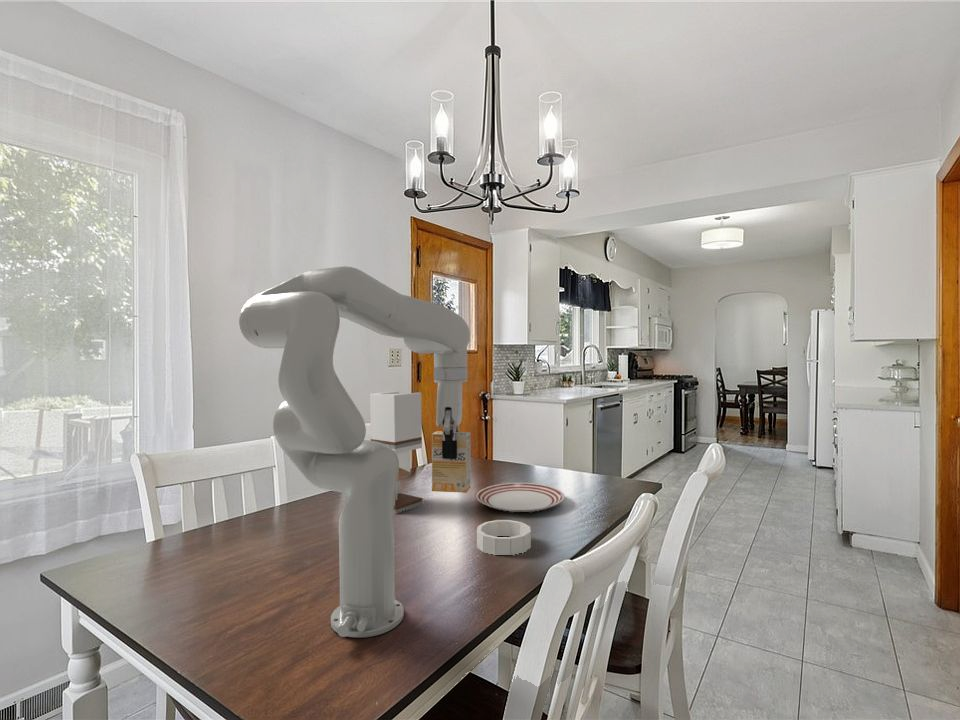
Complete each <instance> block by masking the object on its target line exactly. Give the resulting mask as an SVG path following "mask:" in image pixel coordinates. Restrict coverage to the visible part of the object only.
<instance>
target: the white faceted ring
mask: <svg viewBox="0 0 960 720" xmlns="http://www.w3.org/2000/svg"><path fill="white" fill-rule="evenodd" d="M476 527H477V528H476V548H477V549H478V550H479V551H481V552H482V553H484V554H487V553H488V555H491V554H493V555H492V556H495V555H513V556H516V555H515V554H517V555H520V554H519V553H522V554H524V552H525V553H526V552H528V551H529V550H531V549H530V548H532V538H531V537H532V536H531V535H532V534H531V533H532V530H531V526H530V525H528V524H526V523H524V522H521V521H517V520H512V519H495V520H491V521H485V522H483V523H481V524H479V525H477V526H476ZM497 536H511V537H497ZM528 549H529V550H528ZM527 550H528V551H527Z"/></svg>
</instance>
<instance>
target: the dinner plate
mask: <svg viewBox="0 0 960 720" xmlns="http://www.w3.org/2000/svg"><path fill="white" fill-rule="evenodd" d="M565 497H566V496H565V493H564V492H563V491H562V490H560V489H558V488H556V487H553V486H550V485H546V484H542V483H534V482H508V483H500V484H498V483H497V484H494V485H490V486H487V487H485V488H482V489H480V490H479V491H478V492H477V493H476V496H475V498H476V499H477V501H478V502H479V503H480V504H482V505H485V506H487V507H489V508H492V509H494V510H495V509H496V510H499V511H501V510H503V511H502V512H506V511H509V512H508V513H514V512H529V513H536V512H535V511H537V512H541V511H545V510H547V509H550V508H553V507H555V506H558V505H559V504H561V503H562V502H563V501H564V500H565ZM540 510H541V511H540Z"/></svg>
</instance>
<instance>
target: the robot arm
mask: <svg viewBox="0 0 960 720" xmlns="http://www.w3.org/2000/svg"><path fill="white" fill-rule="evenodd" d="M238 317H239V318H238V323H239V329H240V333H241V334H242V336H243V337H244V338H245V340H247V342H249V343H250V344H252V345H254V346H256V347H258V348H262V349H283V353H282V358H281V361H280V367H279V371H278V380H277V381H278V383H277V384H278V389H279V390H280V394H281V396H282V398H283V400H284V401H283V402H281V404H279V406H278V408H277V409H276V410H275V413H274V414H273V415H274V416H273V419H272V420H273V422H272V429H273V434H274V438H275V440H276V442H277V444H278V445H279V447H280V449H282V452H284V453H285V455H286V456H287V458H288V459H289V460H290V461H291V463H293V464H294V465H295V467H296V468H297V470H298V471H299V472H300V474H302V476H304V478H305V479H306V480H307V481H308V482H309V483H310V484H311V485H313V486H314V487H316V488H318V489H322V490H326V491H330V492H332V491H333V492H336V493H343V494H345V495H346V494H347V495H348V498H347V501H346V503H345V504H344V507H343V508H342V511H341V512H340V515H339V520H338V555H339V557H338V559H339V561H338V562H339V563H338V564H339V573H338V574H339V605H338V606H337V607H336V608H335V609H334V610H333V612H332V613H331V615H330V625H331V626H330V627H331V628H332V630H333V631H334V632H336V633H337V634H338V636H339V637H340V638H346V637H348V638H356V639H357V638H371V637H375V636H379V635H382V634H386V633H387V632H389V631H391V630H393V629H394V628H396V627H397V626H399V624H400V623H402V621H403V619H404V606H403V604H402V603H401V602H400V601H399V600H397V599H396V596H395V595H396V594H395V588H396V587H395V585H396V584H395V581H396V580H395V528H394V527H395V526H394V525H395V524H394V523H395V514H394V498H395V490H396V484H397V479H398V473H399V461H398V457H397V455H396V453H395V452H394V450H393V449H392V448H390V447H389V446H388V445H386V444H383V443H380V442H376V441H371V440H366V439H365V438H366V434H367V427H366V424H365V423H366V422H365V420H364V417H363V416H362V414H361V412H360V410H359V409H358V407H357V405H356V404H355V402H354V401H353V400H352V397H351V396H350V395H349V393H348V391H347V390H346V388H345V387H344V385H343V384H342V381H341V380H340V379H339V377H338V375H337V373H336V371H335V367H334V353H335V347H336V342H337V338H338V334H339V330H340V323H341V322H340V321H341V320H340V318H341V319H342V318H344V319H346V320H348V321H350V322H353V323H354V324H355V323H356V324H357V325H360V326H362V327H364V328H366V329H369V330H371V331H373V332H375V333H377V334H379V335H381V336H384V337H392V338H396V339H397V338H398V339H399V338H400V339H403V342H404V345H405V346H406V347H407V349H408V350H410V351H411V352H413V353H415V354H425V355H426V354H427V355H428V354H433V382H434V383H435V384H436V383H437V390H436V415H435V419H436V421H435V424H436V427H437V428H441V427H442V432H443V440H442V458H443V459H456V458H457V440H456V432H460V424H461V423H462V420H463V419H462V418H463V383H467V382H468V346H469V344H470V342H471V341H470V340H471V331H470V328H469V325H468V324H467V322H466V321H465V319H464V318H463V317H462V316H461V315H460V314H458V313H456V312H455V311H454V310H451V309H450V308H448V307H446V306H443V305H442V304H437V303H434V302H432V301H427V300H423V299H420V298H416V297H413V296H411V295H405V294H401V293H399V292H398V291H396V290H394V289H393V288H390V286H388V285H386V284H385V283H382V282H381V281H379V280H378V279H376V278H374V277H373V276H371V275H369V274H368V273H366V272H364V271H362V270H361V269H358V268H356V267H352V266H346V265H345V266H334V267H326V268H320V269H312V270H308V271H305V272H302V273H300V274H298V275H295V276H294V277H291V278H289V279H287V280H285V281H283V282H282V283H281V282H280V284H279V283H278V284H277V285H275V286H273V287H271V288H268V289H266V290H265V291H262V292H260V293H257V294H256V295H254V296H253V297H251V298H250V299H248V300H247V301H246V303H245V304H244V305H243V307H242V308H241V310H240V314H239V316H238Z"/></svg>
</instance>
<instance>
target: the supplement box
mask: <svg viewBox="0 0 960 720" xmlns="http://www.w3.org/2000/svg"><path fill="white" fill-rule="evenodd" d="M471 434H472V433H471V432H470V431H465V432H463V431H459V432H456V440H457V458H456V459H443V458H442V440H443V430H441V431H440V430H437V431H434V432H433V433H432V434H431V492H439V493H440V492H443V493H448V492H449V493H463V494H467V493H468V491H469V490H470V489H471V481H472V480H471V476H472V475H471V474H472V473H471V466H472V465H471V463H472V462H471V461H472V459H471V458H472V457H471V455H472V454H471V453H472V452H471V448H472V447H471V444H472V443H471V442H472V441H471V440H472V439H471V438H472V436H471Z"/></svg>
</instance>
